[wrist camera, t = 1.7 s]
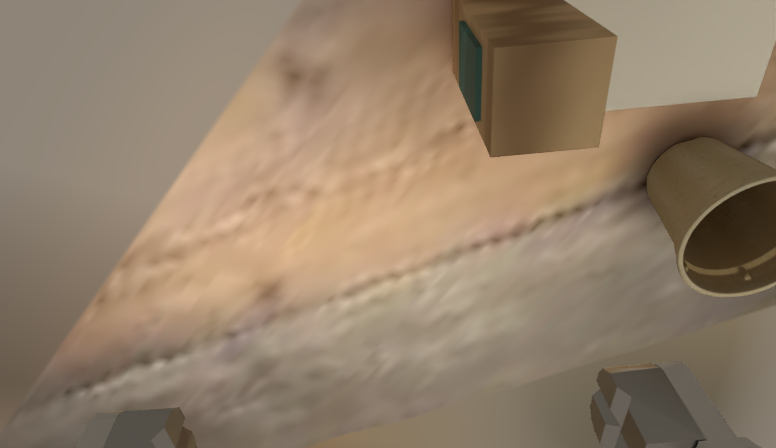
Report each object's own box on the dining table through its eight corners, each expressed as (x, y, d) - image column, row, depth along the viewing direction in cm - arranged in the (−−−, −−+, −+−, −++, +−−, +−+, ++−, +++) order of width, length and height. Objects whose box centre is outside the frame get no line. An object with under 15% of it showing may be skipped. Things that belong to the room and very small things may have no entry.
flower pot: (606, 224, 41) (657, 298, 34) (644, 113, 36) (713, 174, 29) (719, 224, 42) (793, 297, 35) (773, 115, 36) (873, 176, 29)
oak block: (535, -19, 31) (618, 36, 21) (529, 64, 33) (598, 147, 24) (447, -10, 31) (487, 48, 21) (448, 72, 34) (484, 158, 24)
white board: (821, -116, 28) (829, -115, 28) (750, 93, 35) (756, 96, 35) (549, -88, 29) (553, -88, 28) (532, 114, 35) (535, 117, 35)
